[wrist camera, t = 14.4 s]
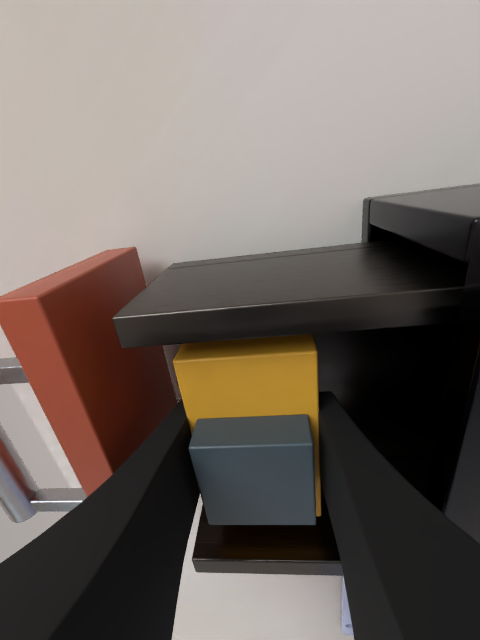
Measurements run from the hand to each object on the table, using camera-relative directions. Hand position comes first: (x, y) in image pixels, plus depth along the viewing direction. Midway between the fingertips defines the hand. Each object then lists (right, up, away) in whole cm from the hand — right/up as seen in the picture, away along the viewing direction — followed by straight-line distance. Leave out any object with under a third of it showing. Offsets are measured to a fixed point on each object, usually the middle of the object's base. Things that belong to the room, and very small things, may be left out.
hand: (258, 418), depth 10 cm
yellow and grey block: (0, +1, +1) cm, 1 cm away
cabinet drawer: (0, +1, +3) cm, 3 cm away
